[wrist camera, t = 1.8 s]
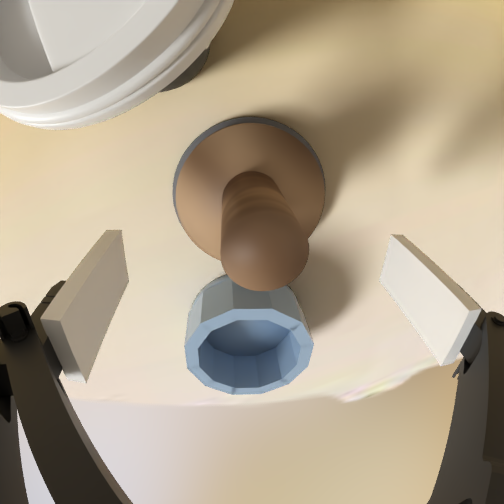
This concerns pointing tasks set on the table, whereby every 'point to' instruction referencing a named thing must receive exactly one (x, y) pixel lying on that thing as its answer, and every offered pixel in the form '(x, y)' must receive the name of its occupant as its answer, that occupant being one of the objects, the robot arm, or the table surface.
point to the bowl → (246, 338)
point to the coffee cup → (98, 55)
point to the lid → (252, 203)
